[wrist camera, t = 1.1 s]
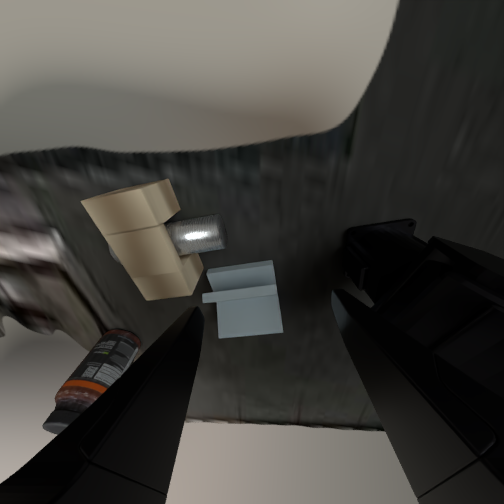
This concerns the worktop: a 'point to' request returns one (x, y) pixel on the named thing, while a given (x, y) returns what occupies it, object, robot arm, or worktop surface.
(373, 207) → the worktop surface
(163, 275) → the beam
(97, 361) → the supplement bottle
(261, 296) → the v block
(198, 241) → the axle
